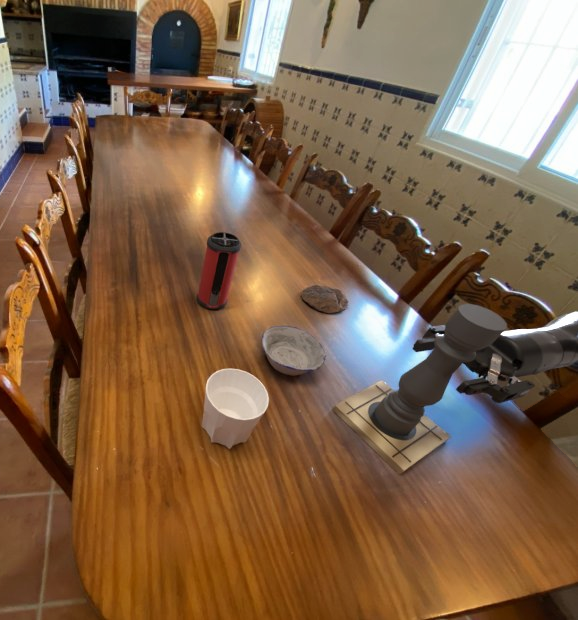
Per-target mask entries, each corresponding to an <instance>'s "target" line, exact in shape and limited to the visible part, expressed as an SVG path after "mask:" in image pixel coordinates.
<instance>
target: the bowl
mask: <svg viewBox="0 0 578 620" xmlns="http://www.w3.org/2000/svg"><path fill="white" fill-rule="evenodd" d="M261 346H262V350H263V351H264V354H265V355H266V356H265V357H266V358H267V360H268V363H269V364H270V365H271V367H272V368H273V369H274V370H276V371H277V372H279V373H280V374H283V375H287V376H292V377H293V376H301V375H304V374H306V373H307V374H308V372H315V371H316V370H319V369H321V367H322V366H323V365H324V363H325V361H326V357H327V354H326V353H325V352H326V351H325V349H324V347H323V345H322V344H321V342H320V341H319V340H318V339H317V338H316V337H315V336H313V335H312V334H311V333H309V332H308V331H305V330H304V329H300V328H298V327H297V326H289V325H275V326H271V327H270V328H268V329H266V330H265V331H264V332H263V333H262V336H261Z"/></svg>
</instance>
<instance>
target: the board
mask: <svg viewBox="0 0 578 620" xmlns="http://www.w3.org/2000/svg"><path fill="white" fill-rule="evenodd" d="M393 391H395V390H394V389H393V388H392V387H391V386H389V385H388V384H387V383H386V382H385V381H384V380H382V379H380V380H379V381H377V382H375V383H373V384H372V385H371V384H370V385H369V386H368V387H366V388H364V389H362V390H360V391H358V392H357V393H354V394H353V395H351V396H349V397H346V398H345V399H343V400H342V401H340V402H338V403H335V404H334V406H333V408H332V411H333V412H334V413H335V414H336V415H337V416H338V417H339V418H340V419H341V420H342V421H343V422H344V423H345V424H346V425H347V426H348V427H349V428H351V429H352V431H354V432H355V434H357V435H358V436H359V437H360V438H361V439H362V440H363V441H364V442H365V443H366V444H367V445H368V446H369V447H370V448H371V449H373V450H374V452H375V453H376V454H377V455H378V456H380V457H381V459H382V460H384V462H386V463H387V465H388V466H389V467H391V468H392V469H393V470H394V471H395V472H397V474H398V475H402V474H403V473H404V472H406V471H407V470H409V469H410V468H411V467H413V466H414V465H416V464H417V463H418V462H420V461H421V460H422V459H424V458H425V457H426V456H428V455H429V454H430V453H432V452H434V451H435V450H436V449H438V448H439V447H440V446H441V445H443V444H444V443H445V442H447V441H448V440H449V439H450V438H451V437H452V436H451V434H449V433H447V432H446V431H445V430H444V429H443V428H442V427H441V426H439V425H438V424H436V422H434V420H432V419H430V418H429V417H428V416H426V414H424V415H423V416H422V417H421V420H420V422H419V423H418V424H417V425H416V426H415V427H414V428H413V429H412V430H411V431H410V432H409V433H408V434H406V435H399V434H395V433H392V432H390V431H388V430H387V429H385V428H384V427H383V426H382V425H381V424H379V422H378V421H377V419H376V418H375V413H374V412H375V409H376V407H377V406H378V405H379V403H380V402H381V401H382V400H383V398H384V397H386V396H388V395H389V393H391V392H393Z"/></svg>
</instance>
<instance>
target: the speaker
mask: <svg viewBox="0 0 578 620" xmlns="http://www.w3.org/2000/svg"><path fill="white" fill-rule="evenodd" d="M241 249H242V242H241V241H240V240H239V238H238V237H237V236H236V235H235V234H232V233H230V232H226V231H225V232H223V231H219V232H214V233H213V234H211V235H210V236H208V238H207V239H206V249H205V254H204V261H203V266H202V270H201V277H200V281H199V288H198V293H197V295H196V301H197V303H198V304H199V305H200V306H202V307H203V308H205V309H210V310H220V309H223V308H224V307H225V306H227V303H228V297H229V292H230V289H231V284H232V282H233V277H234V274H235V269H236V265H237V261H238V257H239V254H240V251H241Z"/></svg>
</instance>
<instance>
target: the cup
mask: <svg viewBox="0 0 578 620" xmlns="http://www.w3.org/2000/svg"><path fill="white" fill-rule="evenodd" d="M204 391H205V392H204V401H203V403H204V404H203V413H202V418H201V426H200V427H201V428H202V429H204V430H205V432H206V433H207V435H208V436H209V438H210V443H211V444H212V443H217V444H220V445H223V446H225V447H226V448H227V449H229V450H231V449H232V448H233V446H236V445H238V444H240V443H247V441H248V440H249V437H250V436H251V435H252V433H253V432H254V429H255V428H256V426H257V425H258V423H259V422H260V420H261V419H262V417H263V415H264V414H265V412H266V411H267V409H268V407H269V403H270V398H269V392H268V390H267V388H266V387H265V385H264V384H263V383H262V382H261V380H260V379H259V378H257V377H256V376H255V375H253V374H252V373H250V372H248V371H245V370H242V369H239V368H231V367H230V368H222V369H219V370H216V371H215V372H213V373H212V374H210V376H209V377H208V378H207V381H206V385H205V390H204Z"/></svg>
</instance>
